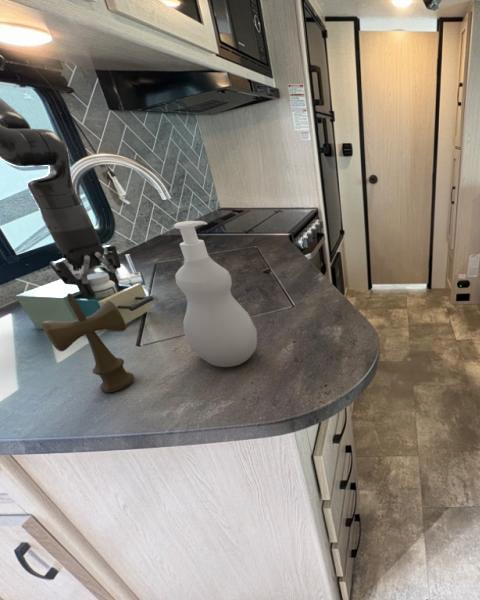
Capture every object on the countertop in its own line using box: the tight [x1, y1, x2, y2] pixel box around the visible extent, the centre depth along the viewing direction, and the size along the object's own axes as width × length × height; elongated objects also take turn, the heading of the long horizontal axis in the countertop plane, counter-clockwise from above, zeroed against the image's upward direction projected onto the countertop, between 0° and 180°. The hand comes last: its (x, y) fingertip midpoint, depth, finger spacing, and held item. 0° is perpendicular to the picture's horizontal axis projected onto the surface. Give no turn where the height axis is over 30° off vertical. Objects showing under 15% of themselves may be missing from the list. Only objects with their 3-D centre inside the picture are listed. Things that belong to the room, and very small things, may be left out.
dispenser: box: [15, 278, 81, 330], centre depth 83 cm, size 14×12×10 cm
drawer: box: [67, 282, 154, 325], centre depth 82 cm, size 17×11×8 cm, turn 82°
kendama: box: [42, 293, 135, 393], centre depth 57 cm, size 6×10×20 cm, turn 143°
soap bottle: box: [173, 220, 258, 368], centre depth 62 cm, size 17×12×29 cm
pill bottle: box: [87, 271, 119, 300], centre depth 81 cm, size 6×6×10 cm
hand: (103, 291), depth 80 cm, fingers closed on pill bottle, 5 cm apart
